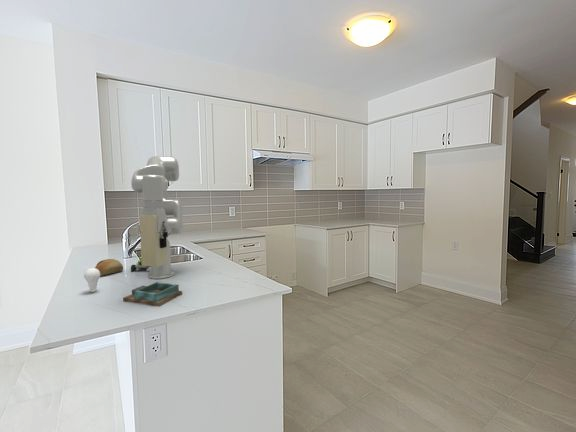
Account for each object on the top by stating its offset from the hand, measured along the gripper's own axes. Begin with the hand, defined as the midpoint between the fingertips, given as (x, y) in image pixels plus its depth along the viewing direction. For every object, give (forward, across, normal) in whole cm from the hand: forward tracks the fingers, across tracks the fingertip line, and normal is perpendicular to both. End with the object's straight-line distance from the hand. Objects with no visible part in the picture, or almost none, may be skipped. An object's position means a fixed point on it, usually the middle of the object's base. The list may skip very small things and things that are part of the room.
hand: (155, 246), depth 121 cm
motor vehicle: (+23, -42, +38) cm, 61 cm away
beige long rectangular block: (+8, 0, 0) cm, 8 cm away
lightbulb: (+22, -33, -3) cm, 40 cm away
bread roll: (+22, -53, +22) cm, 61 cm away
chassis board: (+22, -2, 0) cm, 22 cm away
